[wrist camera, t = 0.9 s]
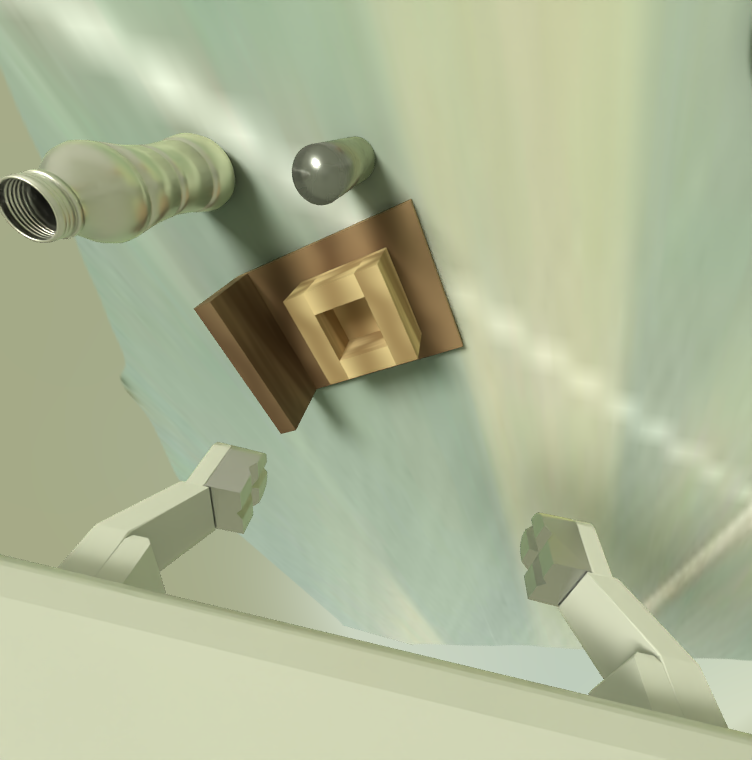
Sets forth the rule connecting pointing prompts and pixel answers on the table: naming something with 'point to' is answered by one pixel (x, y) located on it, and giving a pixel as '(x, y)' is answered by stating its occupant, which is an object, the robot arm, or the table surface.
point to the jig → (280, 333)
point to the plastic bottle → (115, 188)
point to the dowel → (332, 168)
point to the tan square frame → (356, 318)
